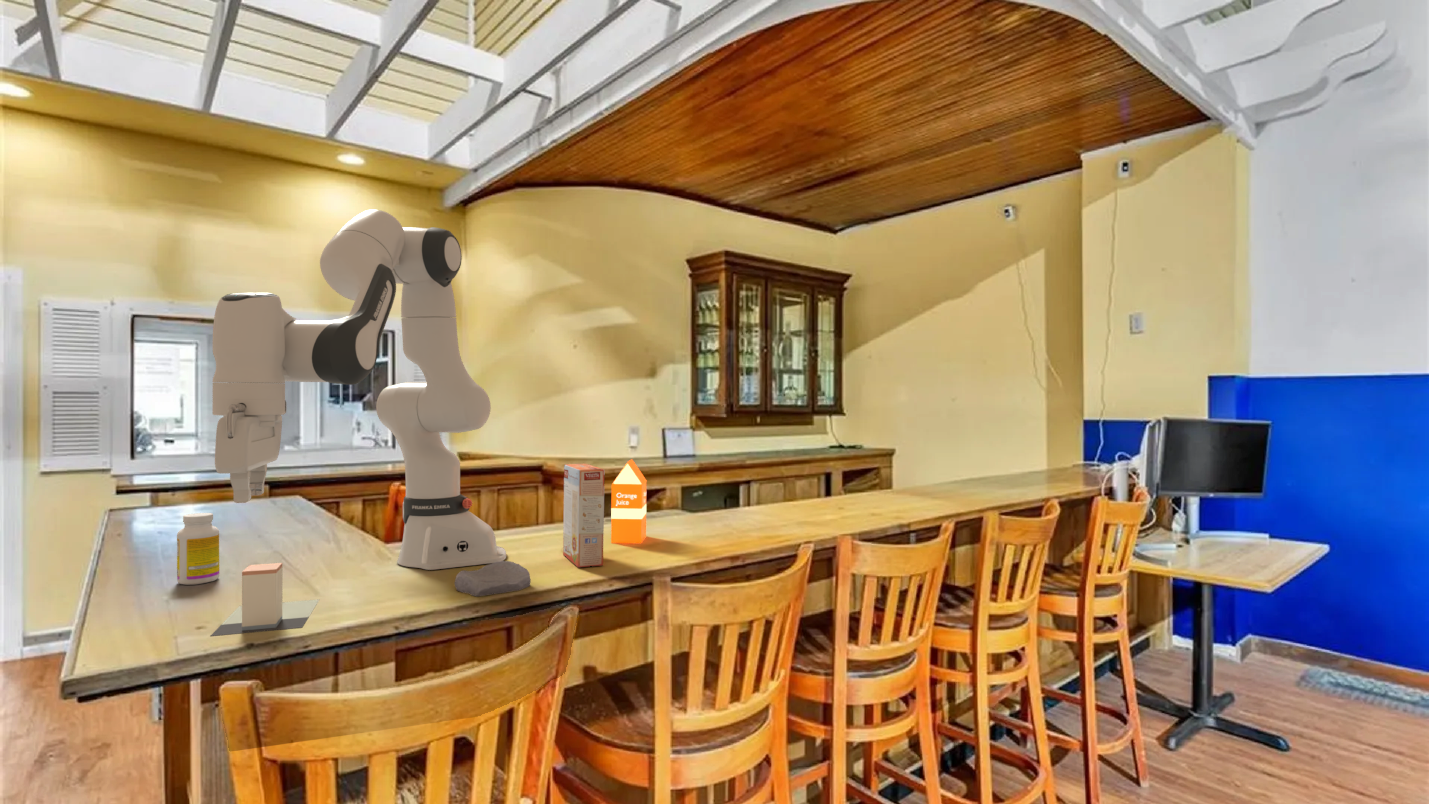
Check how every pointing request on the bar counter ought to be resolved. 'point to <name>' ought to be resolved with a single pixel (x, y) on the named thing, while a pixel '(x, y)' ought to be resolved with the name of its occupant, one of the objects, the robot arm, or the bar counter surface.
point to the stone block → (493, 579)
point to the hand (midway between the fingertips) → (249, 498)
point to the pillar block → (261, 596)
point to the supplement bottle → (197, 550)
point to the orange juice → (628, 506)
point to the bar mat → (291, 619)
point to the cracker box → (583, 514)
